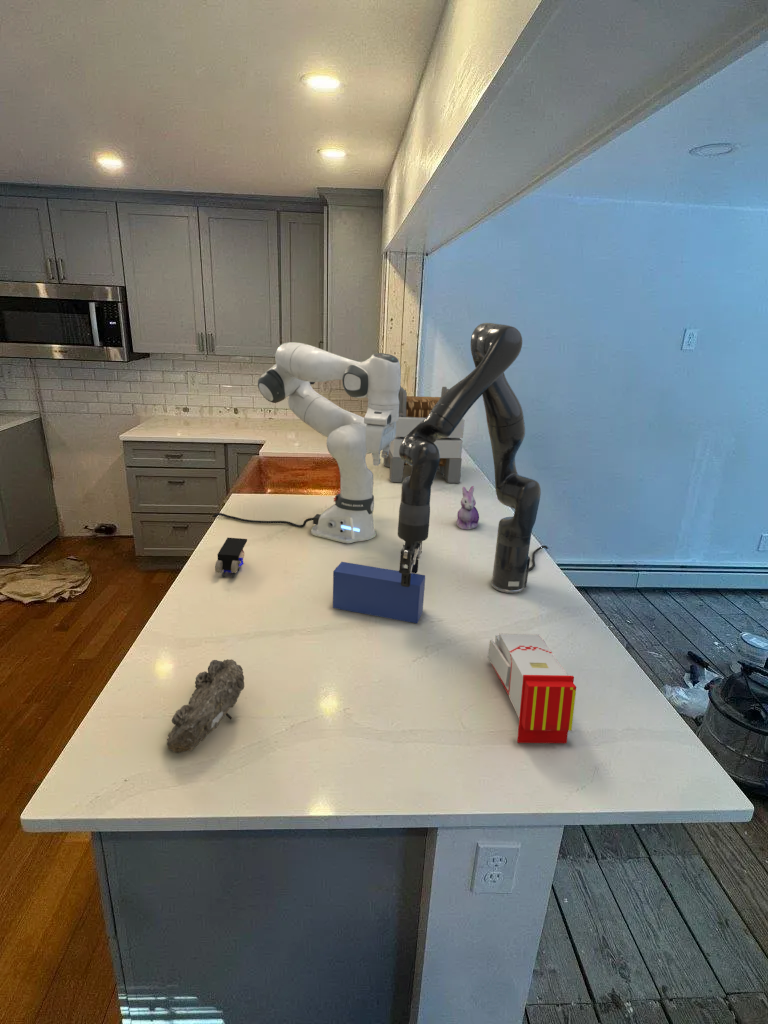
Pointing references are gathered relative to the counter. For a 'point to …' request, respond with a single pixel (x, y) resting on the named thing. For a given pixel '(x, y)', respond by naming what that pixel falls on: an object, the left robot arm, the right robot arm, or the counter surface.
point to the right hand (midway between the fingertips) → (409, 579)
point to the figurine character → (230, 556)
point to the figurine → (468, 510)
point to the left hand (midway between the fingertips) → (380, 461)
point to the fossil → (206, 705)
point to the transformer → (449, 448)
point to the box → (377, 592)
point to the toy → (534, 687)
